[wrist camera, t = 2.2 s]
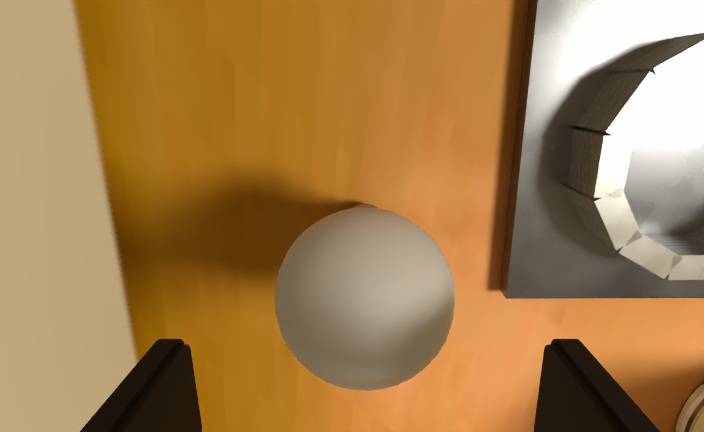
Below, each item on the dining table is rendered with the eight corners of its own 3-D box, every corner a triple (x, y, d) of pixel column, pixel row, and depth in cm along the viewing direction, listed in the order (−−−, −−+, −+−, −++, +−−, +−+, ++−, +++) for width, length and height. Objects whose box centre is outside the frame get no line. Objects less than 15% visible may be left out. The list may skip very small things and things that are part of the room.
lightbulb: (293, 255, 23) (232, 403, 12) (325, 149, 21) (287, 216, 10) (398, 288, 23) (427, 458, 12) (439, 187, 21) (513, 287, 11)
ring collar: (530, -15, 18) (568, -37, 15) (882, -24, 18) (1002, -49, 14) (500, 289, 23) (523, 324, 19) (779, 288, 22) (851, 324, 19)
